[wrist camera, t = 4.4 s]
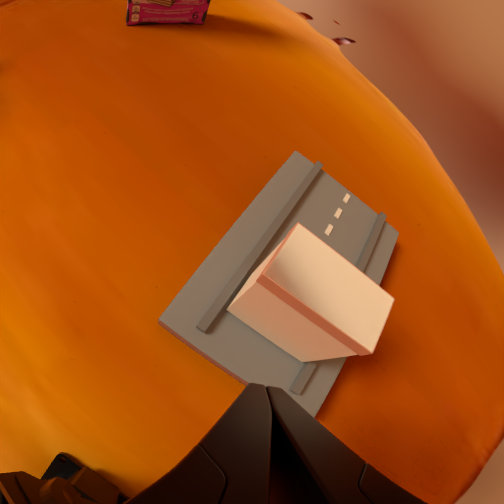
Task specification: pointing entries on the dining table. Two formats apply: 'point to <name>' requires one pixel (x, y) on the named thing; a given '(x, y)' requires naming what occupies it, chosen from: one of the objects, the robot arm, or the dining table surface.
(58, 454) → the robot arm
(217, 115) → the dining table surface
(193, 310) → the toy road segment
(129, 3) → the candy bar box
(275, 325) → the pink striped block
